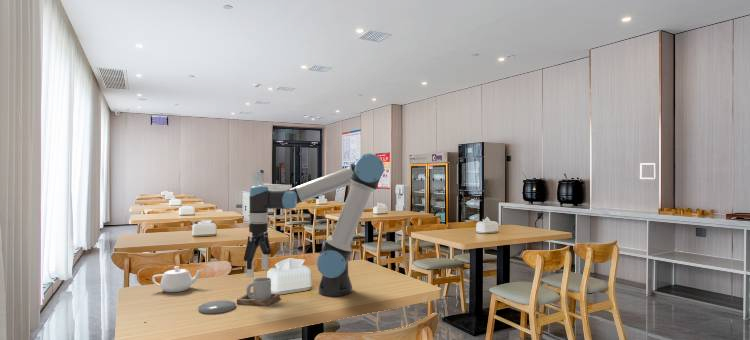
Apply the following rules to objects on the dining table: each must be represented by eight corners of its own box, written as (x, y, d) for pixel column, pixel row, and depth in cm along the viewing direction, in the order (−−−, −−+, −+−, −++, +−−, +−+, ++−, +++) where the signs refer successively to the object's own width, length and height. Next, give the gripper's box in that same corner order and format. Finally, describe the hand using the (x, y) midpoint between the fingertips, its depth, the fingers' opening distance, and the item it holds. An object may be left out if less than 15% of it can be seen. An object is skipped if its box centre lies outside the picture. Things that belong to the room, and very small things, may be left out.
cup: (270, 302, 178) (270, 281, 178) (245, 304, 177) (245, 282, 177) (271, 297, 185) (271, 277, 185) (247, 299, 184) (247, 278, 184)
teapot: (149, 295, 189) (149, 271, 189) (154, 288, 202) (154, 265, 202) (202, 291, 196) (202, 267, 196) (204, 284, 209) (204, 261, 209)
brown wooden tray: (279, 298, 185) (279, 293, 185) (268, 305, 174) (268, 301, 174) (249, 296, 188) (249, 292, 188) (236, 304, 177) (236, 299, 177)
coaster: (241, 303, 177) (241, 301, 177) (223, 314, 163) (223, 312, 163) (211, 302, 180) (211, 299, 180) (190, 312, 166) (190, 310, 166)
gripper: (263, 219, 194) (262, 266, 194) (235, 225, 170) (234, 279, 169) (278, 219, 193) (278, 267, 193) (252, 226, 168) (252, 280, 168)
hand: (257, 273), depth 181 cm, fingers open, 13 cm apart
